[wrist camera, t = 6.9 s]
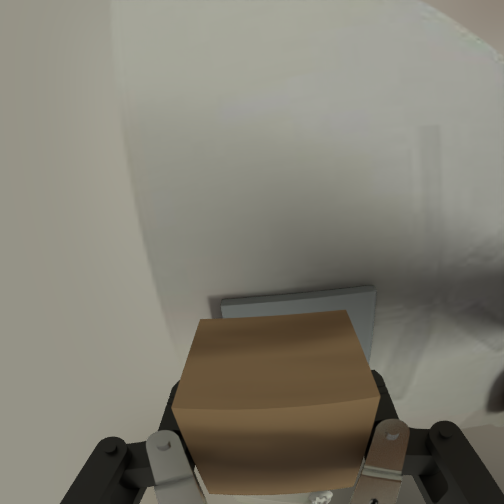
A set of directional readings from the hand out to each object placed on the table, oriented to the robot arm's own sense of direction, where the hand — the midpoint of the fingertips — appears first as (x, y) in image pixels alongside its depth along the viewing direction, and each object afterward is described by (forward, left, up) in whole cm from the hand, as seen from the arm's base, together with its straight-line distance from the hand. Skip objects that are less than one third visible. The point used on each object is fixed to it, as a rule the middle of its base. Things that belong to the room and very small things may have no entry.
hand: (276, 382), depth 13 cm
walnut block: (0, 0, -1) cm, 1 cm away
